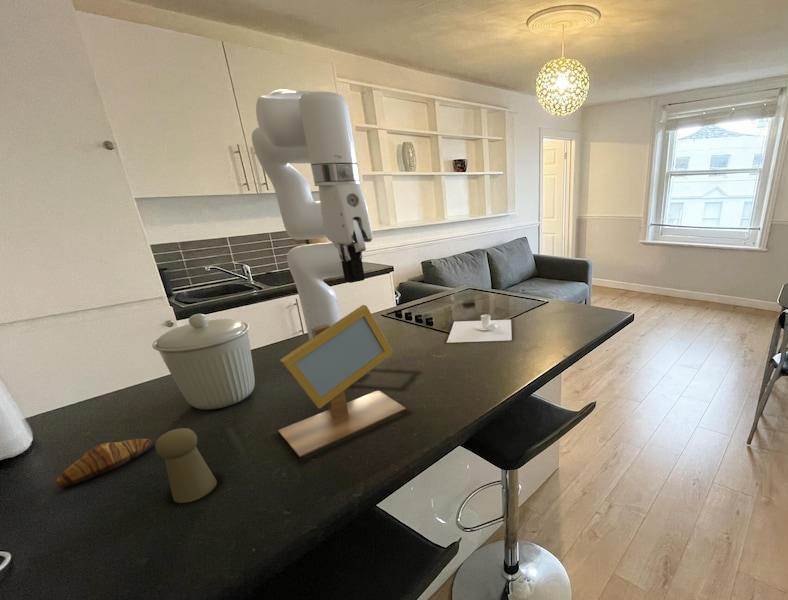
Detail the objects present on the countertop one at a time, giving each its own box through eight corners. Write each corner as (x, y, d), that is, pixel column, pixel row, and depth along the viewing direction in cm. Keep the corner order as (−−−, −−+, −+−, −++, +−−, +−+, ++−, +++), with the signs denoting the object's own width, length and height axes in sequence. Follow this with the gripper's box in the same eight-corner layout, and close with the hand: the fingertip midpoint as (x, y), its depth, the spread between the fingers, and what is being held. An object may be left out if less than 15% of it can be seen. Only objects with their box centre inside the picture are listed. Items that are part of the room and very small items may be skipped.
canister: (159, 412, 92) (123, 324, 84) (232, 377, 108) (207, 300, 100) (215, 425, 86) (182, 331, 78) (284, 386, 102) (262, 305, 94)
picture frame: (316, 406, 79) (279, 359, 72) (389, 350, 87) (363, 304, 80) (319, 409, 78) (282, 362, 71) (393, 352, 86) (366, 305, 79)
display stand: (279, 436, 81) (251, 338, 74) (379, 395, 95) (364, 309, 87) (301, 462, 73) (271, 355, 65) (407, 414, 87) (393, 321, 79)
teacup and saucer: (498, 331, 132) (497, 319, 130) (473, 332, 132) (472, 320, 130) (498, 323, 140) (498, 311, 138) (475, 323, 140) (474, 312, 139)
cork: (187, 479, 70) (165, 424, 66) (224, 475, 71) (204, 421, 67) (164, 504, 65) (138, 446, 61) (203, 501, 65) (180, 443, 61)
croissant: (68, 497, 67) (54, 472, 65) (53, 484, 70) (40, 460, 69) (162, 451, 78) (153, 429, 76) (146, 442, 81) (136, 421, 79)
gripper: (377, 174, 68) (393, 282, 74) (339, 177, 78) (355, 272, 85) (333, 175, 63) (354, 291, 70) (298, 178, 73) (319, 279, 80)
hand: (355, 280), depth 77 cm, fingers closed
